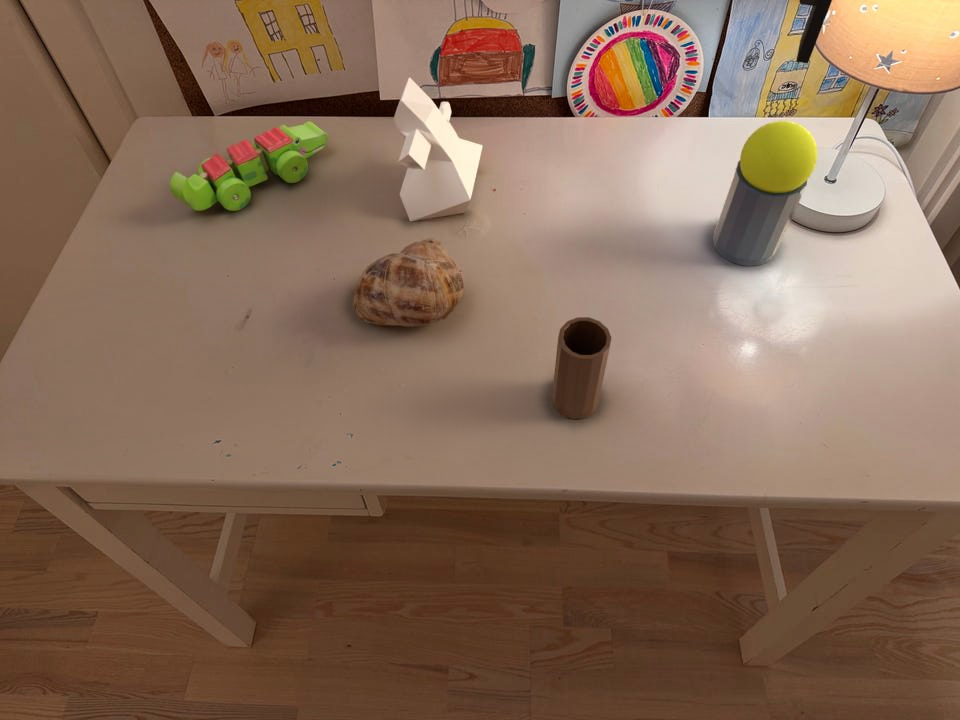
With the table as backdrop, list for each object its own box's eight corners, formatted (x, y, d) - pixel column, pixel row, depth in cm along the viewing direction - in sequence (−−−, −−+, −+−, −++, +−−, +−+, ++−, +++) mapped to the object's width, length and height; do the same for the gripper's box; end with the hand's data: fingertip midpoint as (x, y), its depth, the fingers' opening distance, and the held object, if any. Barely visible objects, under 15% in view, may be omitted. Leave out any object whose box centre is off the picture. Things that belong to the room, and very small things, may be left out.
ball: (817, 195, 71) (844, 142, 65) (756, 218, 70) (777, 166, 64) (778, 151, 74) (799, 96, 68) (719, 172, 73) (735, 118, 67)
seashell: (415, 243, 79) (439, 211, 69) (460, 310, 79) (490, 287, 70) (337, 290, 75) (350, 262, 66) (384, 360, 75) (404, 342, 66)
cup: (789, 253, 77) (822, 183, 69) (737, 274, 76) (765, 204, 68) (750, 214, 81) (778, 143, 73) (700, 233, 80) (723, 162, 71)
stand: (607, 408, 67) (621, 347, 59) (565, 426, 66) (574, 366, 58) (584, 374, 69) (595, 310, 61) (543, 390, 68) (549, 327, 60)
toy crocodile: (314, 136, 92) (303, 95, 87) (340, 162, 88) (331, 121, 83) (173, 203, 85) (152, 162, 80) (196, 233, 82) (177, 193, 77)
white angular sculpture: (486, 155, 88) (483, 53, 77) (468, 234, 81) (463, 134, 69) (420, 150, 89) (408, 49, 78) (397, 227, 81) (380, 128, 70)
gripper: (1510, -422, 28) (1123, 73, 45) (844, -433, 33) (727, 10, 50) (1610, -387, 24) (1142, 142, 41) (832, -406, 29) (709, 66, 46)
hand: (912, 70), depth 46 cm, fingers open, 13 cm apart
